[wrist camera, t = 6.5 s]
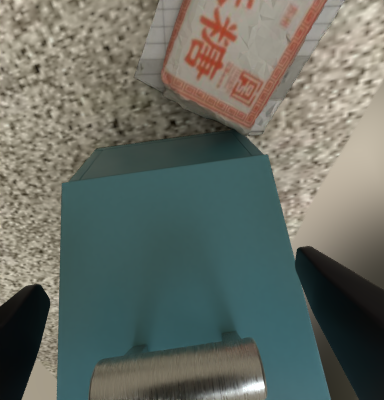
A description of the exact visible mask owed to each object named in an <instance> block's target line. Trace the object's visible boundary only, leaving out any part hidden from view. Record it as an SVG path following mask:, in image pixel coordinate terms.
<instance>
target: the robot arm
mask: <svg viewBox="0 0 384 400" xmlns="http://www.w3.org/2000/svg"><path fill="white" fill-rule="evenodd" d="M295 269H296V272H297V275H298V277H299V280H300V282H301V285H302V287H303V289H304V292H305V294H306V297H307V299H308V302H309V304H310V306H311V309H312V311H313V313H314V316H315V318H316V319H317V321H318V323H319V325H320V327H321V329H322V331H323V333H324V335H325V336H326V338H327V340H328V342H329V344H330V346H331V348H332V350H333V351H334V353H335V355H336V357H337V359H338V361H339V363H340V364H341V366H342V368H343V370H344V372H345V374H346V376H347V378H348V380H349V381H350V383H351V385H352V387H353V389H354V391H355V393H356V395H357V396H358V398H359V400H384V290H383V289H382V288H380V287H378V286H377V285H375V284H373V283H371V282H370V281H368V280H366V279H365V278H363V277H362V276H360V275H358V274H356V273H355V272H353V271H351V270H350V269H348V268H346V267H344V266H343V265H341V264H339V263H338V262H336V261H335V260H333V259H331V258H329V257H328V256H326V255H324V254H323V253H321V252H319V251H318V250H316V249H314V248H313V247H310V246H306V247H300V248H298V249H297V253H296V260H295ZM49 308H50V299H49V297H48V295H47V294H46V292H45V291H44V289H43V288H42V286H41V285H39V284H34V285H28V286H25V287H24V288H23V289H21V290H20V291H19V292H18V293H16V294H15V295H14V296H13V297H11V298H10V299H9V300H8V301H7V302H5V303H4V304H3V305H2V306H0V400H21V399H22V397H23V394H24V391H25V388H26V386H27V383H28V380H29V377H30V374H31V371H32V369H33V366H34V363H35V360H36V357H37V354H38V351H39V348H40V344H41V340H42V336H43V332H44V328H45V324H46V320H47V316H48V312H49Z"/></svg>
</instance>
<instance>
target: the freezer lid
mask: <svg viewBox="0 0 384 400" xmlns="http://www.w3.org/2000/svg"><path fill="white" fill-rule="evenodd" d="M57 400H331V399H330V395H329V391H328V387H327V383H326V379H325V375H324V372H323V368H322V364H321V360H320V356H319V352H318V348H317V345H316V340H315V336H314V333H313V329H312V325H311V321H310V317H309V313H308V309H307V305H306V301H305V298H304V294H303V290H302V286H301V282H300V280H299V277H298V275H297V272H296V269H295V259H294V255H293V251H292V247H291V243H290V239H289V235H288V231H287V227H286V224H285V220H284V216H283V212H282V208H281V204H280V200H279V196H278V192H277V188H276V185H275V181H274V177H273V173H272V169H271V165H270V161H269V157H268V155H267V154H266V155H259V156H252V157H245V158H237V159H230V160H223V161H216V162H209V163H202V164H195V165H187V166H180V167H173V168H166V169H159V170H152V171H145V172H138V173H130V174H123V175H116V176H109V177H102V178H95V179H88V180H80V181H73V182H66V183H62V199H61V241H60V284H59V326H58V369H57Z"/></svg>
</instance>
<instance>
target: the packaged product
mask: <svg viewBox="0 0 384 400" xmlns="http://www.w3.org/2000/svg"><path fill="white" fill-rule="evenodd" d="M344 1H345V0H159V2H158V5H157V9H156V12H155V15H154V18H153V22H152V25H151V28H150V31H149V34H148V37H147V39H146V43H145V46H144V50H143V52H142V55H141V58H140V60H139V63H138V66H137V70H136V73H135V76H134V78H136V79H138V80H140V81H142V82H144V83H146V84H147V85H149V86H151V87H153V88H155V89H157V90H159V91H161V92H163V96H164V97H166V98H167V99H169V100H172V101H175V102H177V103H178V104H180V105H181V107H182V108H183V109H185V110H188V111H190V112H193V113H195V114H197V115H200V116H202V117H204V118H206V119H214V120H216V121H218V122H220V123H222V124H224V125H226V126H228V127H230V128H233V129H235V130H236V131H237V132H239V133H240V134H242V135H245V136H247V135H249V136H250V135H259V134H263V132H264V130H265V128H266V126H267V124H268V122H269V121H270V120H271V119H272V117H273V115H274V113H275V111H276V110H277V108H278V107H279V105H280V104H281V102H282V101H283V99H284V97H285V96H286V94H287V92H288V91H289V89H290V88H291V86H292V84H293V83H294V81H295V80H296V78H297V76H298V75H299V73H300V72H301V70H302V68H303V66H304V65H305V63H306V62H307V61H308V59H309V57H310V55H311V54H312V52H313V51H314V49H315V48H316V46H317V44H318V43H319V41H320V39H321V38H322V36H323V35H324V33H325V32H326V31H327V29H328V28H329V26H330V24H331V23H332V21H333V20H334V18H335V16H336V14H337V12H338V10H339V8H340V7H341V6H342V4H343V3H344Z"/></svg>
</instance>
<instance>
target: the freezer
mask: <svg viewBox="0 0 384 400" xmlns="http://www.w3.org/2000/svg"><path fill="white" fill-rule="evenodd" d="M259 155H264V154H263V153H262V152H261V151H260V150H259V149H258V148H257V147H256V146H255V145H254V144H253V143H252V142H251V141H250V140H249V139H248V138H247V137H246V136H245V135H242V134H240V133H239V132H237V131H236V130H235V129H234V130H227V131H219V132H212V133H205V134H198V135H191V136H183V137H176V138H169V139H162V140H155V141H147V142H140V143H133V144H126V145H119V146H111V147H104V148H97V149H96V150H95V151H94V152H93V153H92V154H91V156H90V157H89V158H88V159H87V160H86V161H85V163H84V164H83V165H82V166H81V167H80V169H79V170H78V171H77V172H76V173H75V174H74V176H73V177H72V178H71V179H70V180H69V182H73V181H80V180H88V179H95V178H102V177H109V176H116V175H123V174H130V173H138V172H145V171H152V170H159V169H166V168H173V167H180V166H187V165H195V164H202V163H209V162H216V161H223V160H230V159H237V158H245V157H252V156H259Z"/></svg>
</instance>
